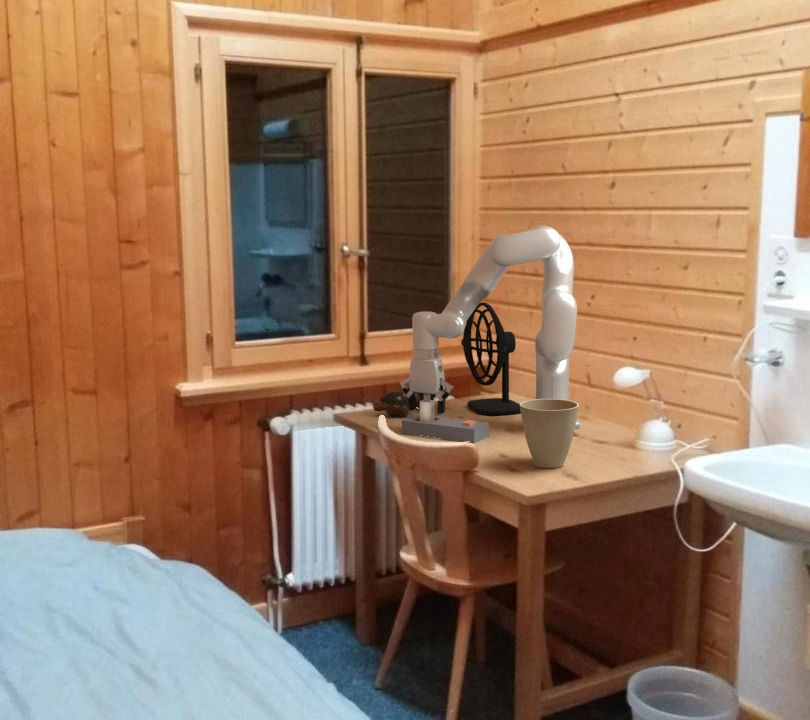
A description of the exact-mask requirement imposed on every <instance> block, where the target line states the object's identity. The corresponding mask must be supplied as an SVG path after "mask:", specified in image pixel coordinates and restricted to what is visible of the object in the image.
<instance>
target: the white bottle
mask: <svg viewBox="0 0 810 720" xmlns="http://www.w3.org/2000/svg"><path fill="white" fill-rule="evenodd" d="M423 396H424V400H421V401H420V410H419V415H420V421H422V422H430V423H431V422H433V421H435V417H436V415H435V414H436V412H435V411H436V410H435V409H436V405H435V402H436V401H435V399H434V400H430V394H424V395H423Z"/></svg>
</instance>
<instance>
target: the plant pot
mask: <svg viewBox="0 0 810 720" xmlns="http://www.w3.org/2000/svg"><path fill="white" fill-rule="evenodd" d="M519 404H520V410H521V412H520V416H521V422H522V427H523V433H524V436H525V440H526V444H527V447H528V449H529V452H530V453H529V454H530V456H531V459H532V462H533V464H534V466H536V467H539V468H542V469H556V468H561V467H563V466H564V464H565V463H566V460H567V456H568V454H569V451H570V447H571V445H572V440H573V437H574V434H575V430H576V429H575V425H576V421H578V420H577V419H578V411H579V403H578V402H576V401H573V400H570V399H569V400H562V399H536V398H535V399H529V400H525V401H522V402H520V403H519Z"/></svg>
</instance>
